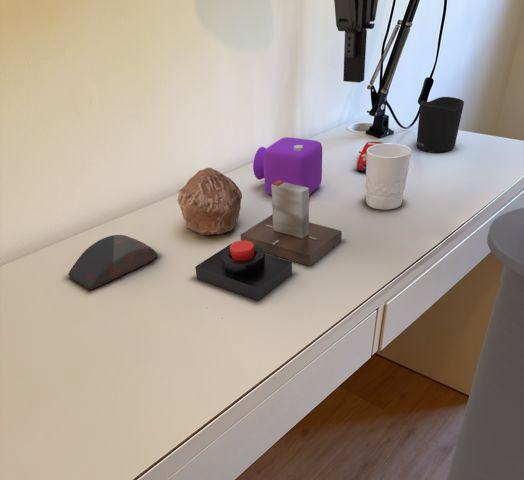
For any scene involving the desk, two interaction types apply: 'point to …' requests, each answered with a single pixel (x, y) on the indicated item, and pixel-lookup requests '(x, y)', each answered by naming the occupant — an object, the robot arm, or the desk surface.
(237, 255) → the button
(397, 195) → the white cup
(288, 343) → the desk surface
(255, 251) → the button block
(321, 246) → the panel
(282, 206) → the tap handle
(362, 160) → the race car
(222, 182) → the decorative rock
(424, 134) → the pen holder
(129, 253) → the dark grey rounded block
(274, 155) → the toy camera
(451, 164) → the desk surface
